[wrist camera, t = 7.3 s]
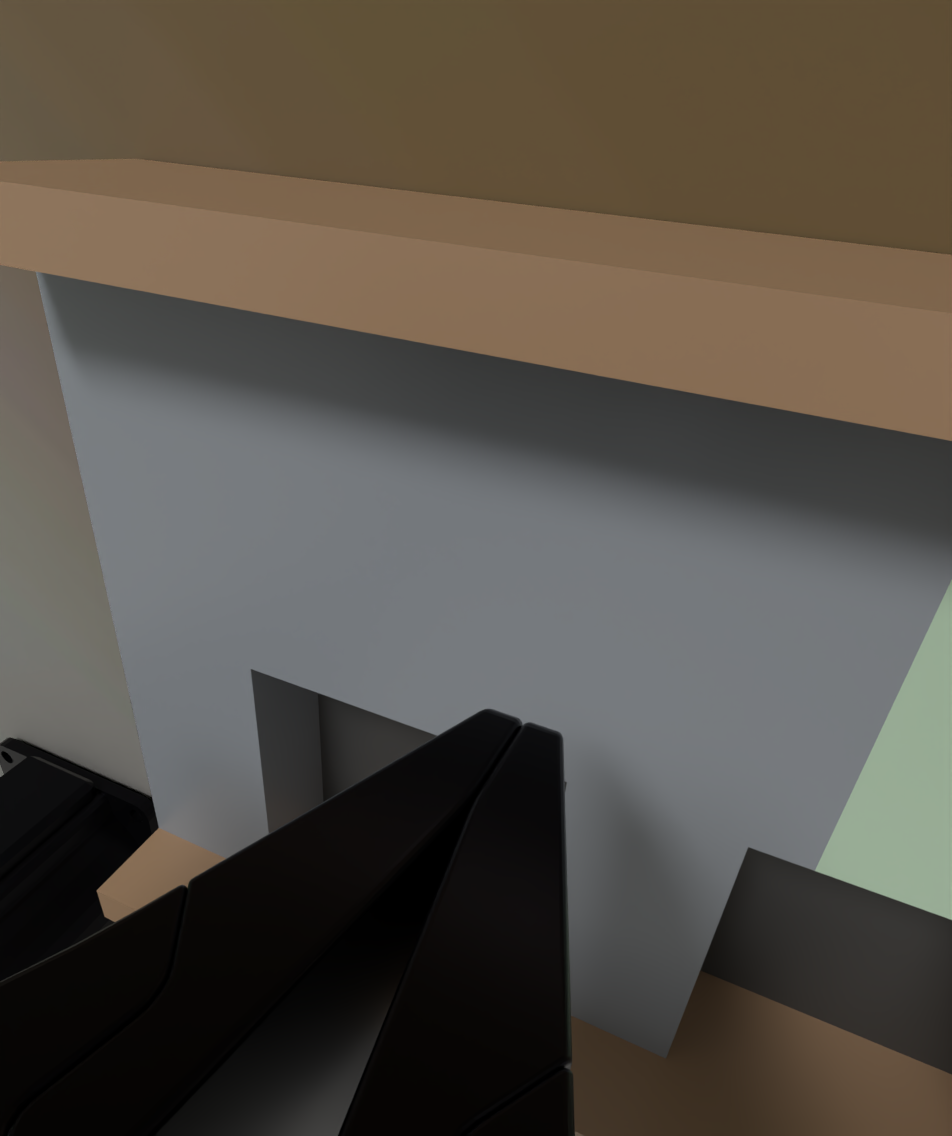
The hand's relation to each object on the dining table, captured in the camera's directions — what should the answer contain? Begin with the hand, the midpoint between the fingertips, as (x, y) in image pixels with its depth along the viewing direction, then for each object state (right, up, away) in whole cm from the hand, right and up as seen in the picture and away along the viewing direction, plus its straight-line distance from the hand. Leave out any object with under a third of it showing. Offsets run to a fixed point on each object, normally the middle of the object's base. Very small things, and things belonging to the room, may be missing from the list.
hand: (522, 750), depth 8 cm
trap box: (+3, 0, +6) cm, 7 cm away
